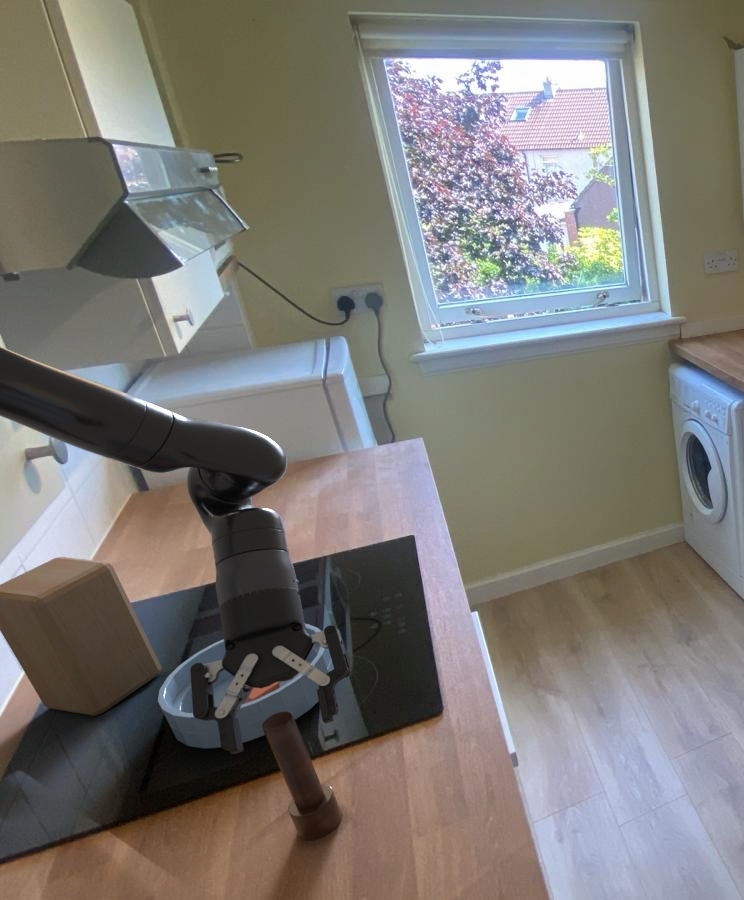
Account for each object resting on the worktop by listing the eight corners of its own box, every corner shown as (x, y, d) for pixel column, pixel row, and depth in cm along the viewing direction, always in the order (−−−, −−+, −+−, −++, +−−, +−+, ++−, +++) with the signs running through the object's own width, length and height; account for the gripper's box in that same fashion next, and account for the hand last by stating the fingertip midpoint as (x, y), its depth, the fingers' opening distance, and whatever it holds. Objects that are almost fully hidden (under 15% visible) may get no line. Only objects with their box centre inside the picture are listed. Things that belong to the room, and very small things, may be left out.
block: (261, 718, 101) (252, 699, 99) (245, 711, 102) (237, 691, 101) (286, 702, 104) (278, 682, 102) (271, 694, 105) (263, 675, 104)
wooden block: (115, 663, 113) (58, 553, 105) (167, 671, 111) (113, 559, 103) (42, 710, 104) (-27, 594, 96) (98, 719, 102) (32, 601, 94)
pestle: (306, 848, 83) (260, 742, 76) (293, 826, 86) (247, 722, 79) (348, 821, 86) (307, 718, 79) (334, 801, 89) (293, 699, 82)
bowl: (195, 776, 93) (177, 740, 90) (159, 705, 104) (143, 672, 102) (358, 691, 106) (346, 658, 104) (310, 637, 118) (299, 606, 115)
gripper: (169, 610, 78) (190, 762, 74) (323, 570, 85) (351, 708, 80) (196, 623, 85) (216, 764, 80) (337, 586, 91) (363, 715, 87)
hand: (283, 736), depth 80 cm, fingers open, 8 cm apart
